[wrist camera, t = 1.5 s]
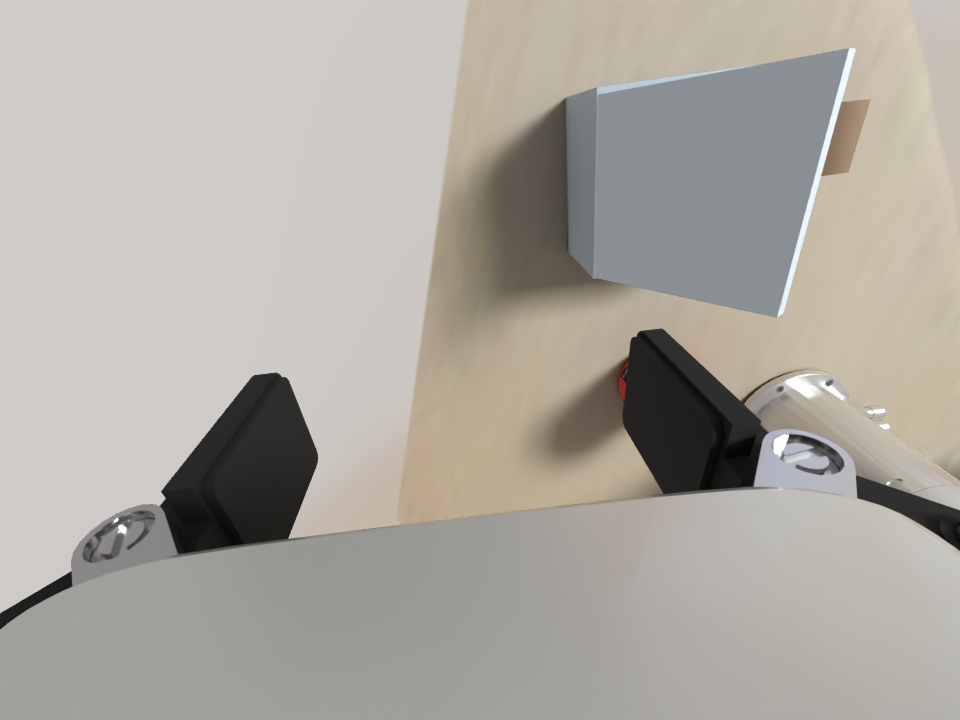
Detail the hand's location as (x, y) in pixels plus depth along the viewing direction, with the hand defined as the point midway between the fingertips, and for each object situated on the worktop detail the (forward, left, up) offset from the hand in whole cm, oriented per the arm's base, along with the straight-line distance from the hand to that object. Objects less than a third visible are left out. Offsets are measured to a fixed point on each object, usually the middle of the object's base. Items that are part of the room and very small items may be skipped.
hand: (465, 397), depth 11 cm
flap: (-13, -2, -14) cm, 20 cm away
